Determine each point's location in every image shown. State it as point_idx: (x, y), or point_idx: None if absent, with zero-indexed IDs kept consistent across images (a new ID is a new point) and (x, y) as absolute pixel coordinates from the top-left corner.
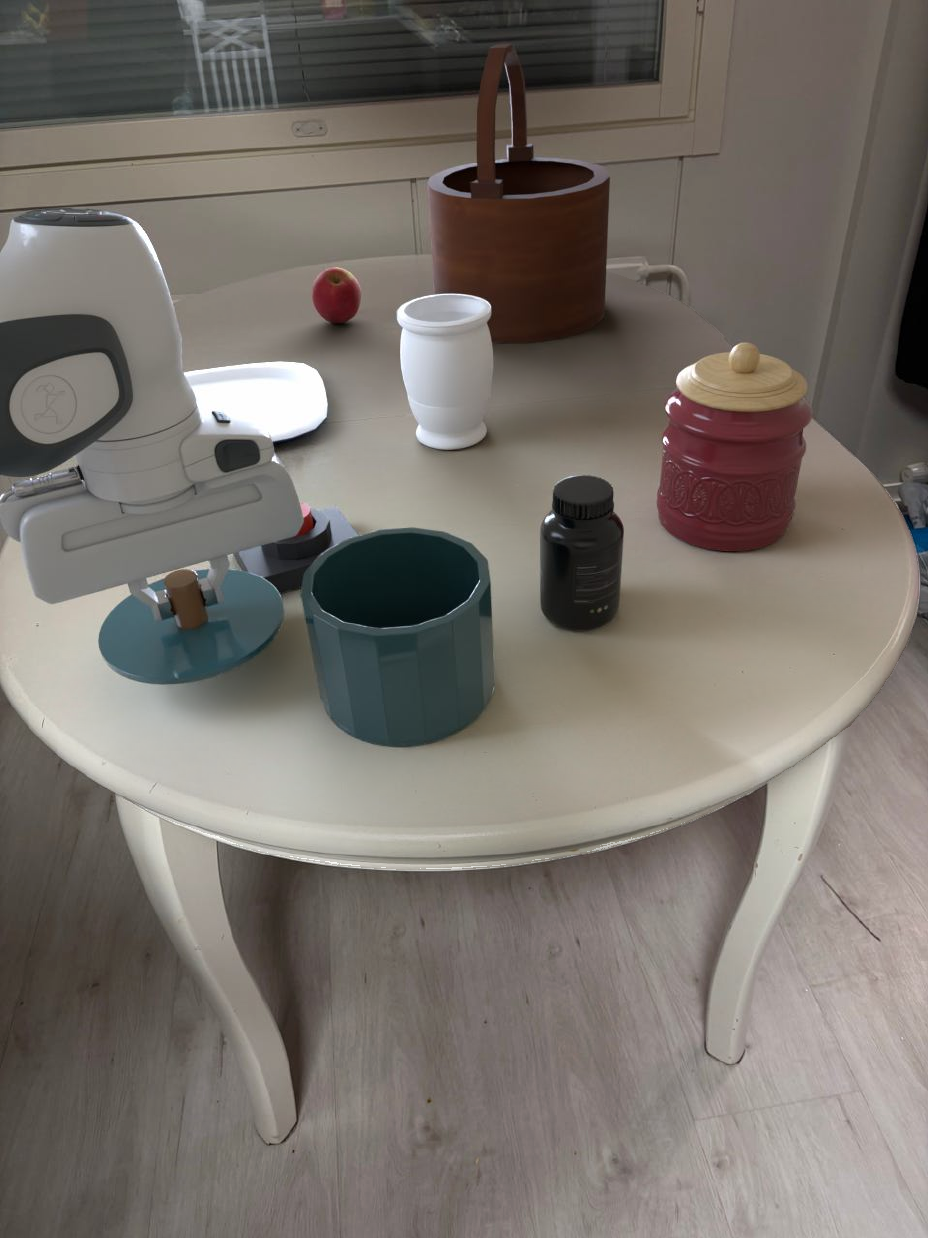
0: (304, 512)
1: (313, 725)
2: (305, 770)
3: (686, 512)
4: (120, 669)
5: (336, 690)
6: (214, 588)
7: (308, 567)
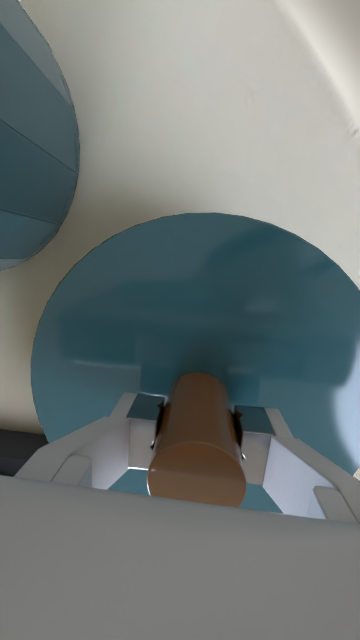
0: None
1: (105, 134)
2: (146, 30)
3: None
4: None
5: (1, 1)
6: (125, 416)
7: (3, 452)
